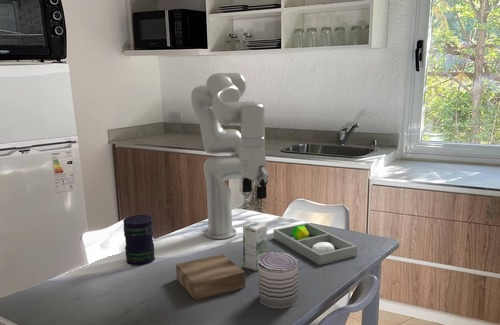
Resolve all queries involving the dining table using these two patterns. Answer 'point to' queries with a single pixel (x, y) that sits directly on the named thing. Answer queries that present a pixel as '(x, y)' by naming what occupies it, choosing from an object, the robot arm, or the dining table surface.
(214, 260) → the base block
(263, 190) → the robot arm
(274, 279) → the can
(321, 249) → the garlic
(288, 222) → the dining table surface
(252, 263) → the syrup box
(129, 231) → the storage jar
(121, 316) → the dining table surface
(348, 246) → the fruit tray
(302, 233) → the apple
